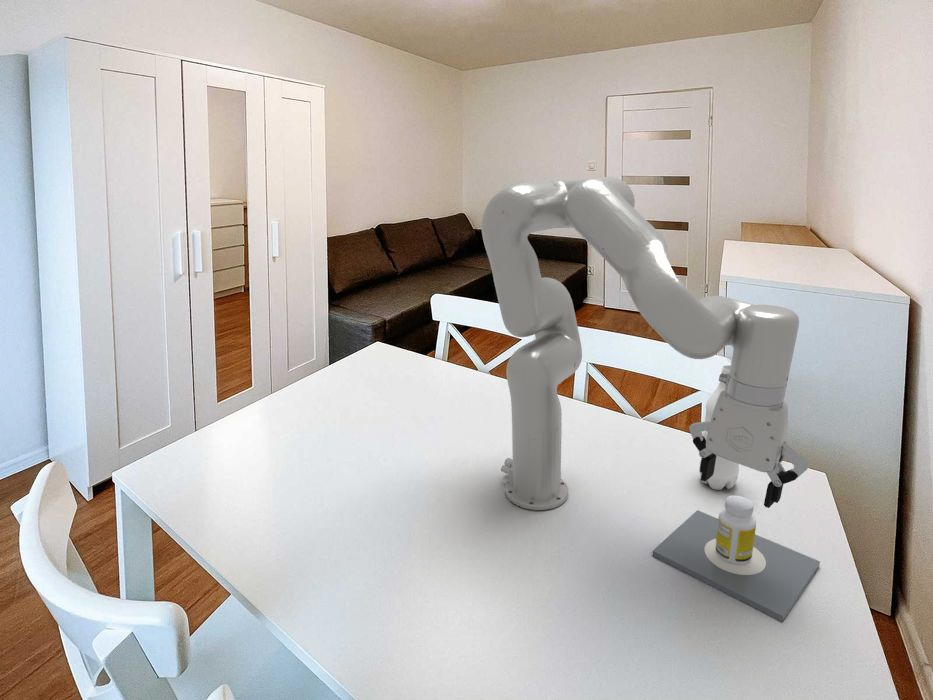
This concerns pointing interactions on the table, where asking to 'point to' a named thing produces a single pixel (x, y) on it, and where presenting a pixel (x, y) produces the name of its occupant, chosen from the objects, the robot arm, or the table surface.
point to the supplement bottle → (736, 530)
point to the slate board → (739, 566)
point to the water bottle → (724, 468)
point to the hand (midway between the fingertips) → (737, 490)
